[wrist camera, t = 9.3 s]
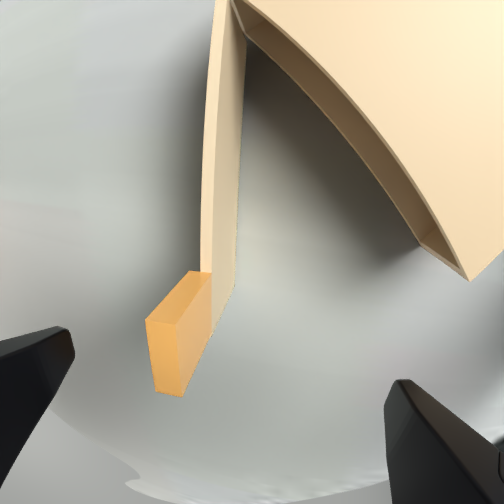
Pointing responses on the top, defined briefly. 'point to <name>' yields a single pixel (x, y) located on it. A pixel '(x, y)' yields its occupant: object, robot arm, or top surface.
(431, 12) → the carton
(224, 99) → the carton flap
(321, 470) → the top surface
